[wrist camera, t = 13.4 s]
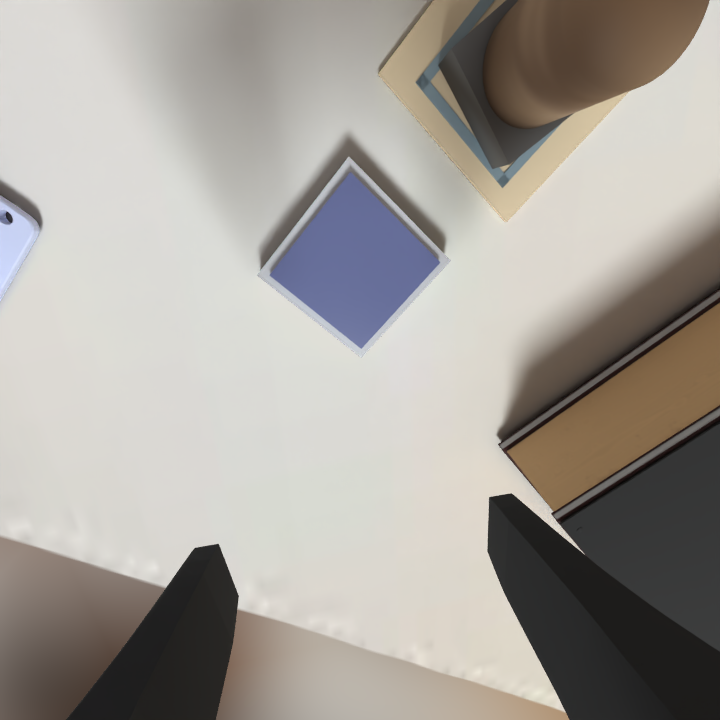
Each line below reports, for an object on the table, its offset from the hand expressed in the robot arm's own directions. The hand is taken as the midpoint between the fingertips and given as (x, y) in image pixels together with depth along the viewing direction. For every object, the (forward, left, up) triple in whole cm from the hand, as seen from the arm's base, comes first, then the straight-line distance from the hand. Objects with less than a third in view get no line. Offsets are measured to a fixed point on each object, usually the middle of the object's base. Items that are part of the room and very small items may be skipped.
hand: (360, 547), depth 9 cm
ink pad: (-4, +5, -10) cm, 12 cm away
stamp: (-3, +14, -10) cm, 18 cm away
